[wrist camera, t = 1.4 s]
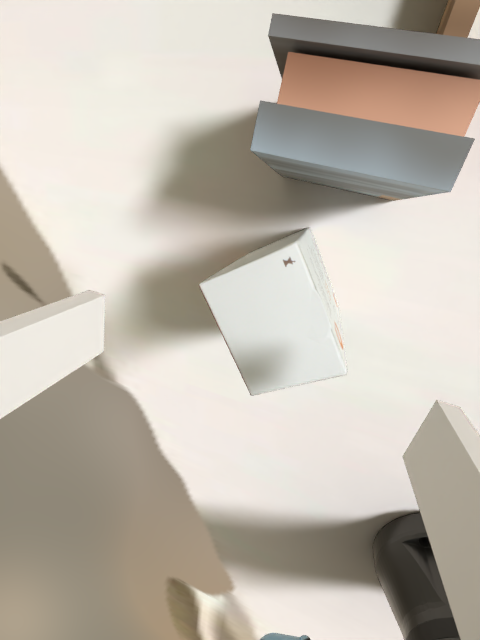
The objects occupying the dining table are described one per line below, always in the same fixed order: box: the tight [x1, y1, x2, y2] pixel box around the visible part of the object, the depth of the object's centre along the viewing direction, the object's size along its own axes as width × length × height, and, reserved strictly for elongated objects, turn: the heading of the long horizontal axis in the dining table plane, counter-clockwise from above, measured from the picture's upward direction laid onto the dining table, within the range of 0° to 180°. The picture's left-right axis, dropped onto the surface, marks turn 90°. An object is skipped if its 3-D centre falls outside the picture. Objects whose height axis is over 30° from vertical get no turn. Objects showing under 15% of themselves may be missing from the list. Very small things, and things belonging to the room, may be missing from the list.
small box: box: [199, 227, 348, 396], centre depth 23 cm, size 8×6×13 cm
